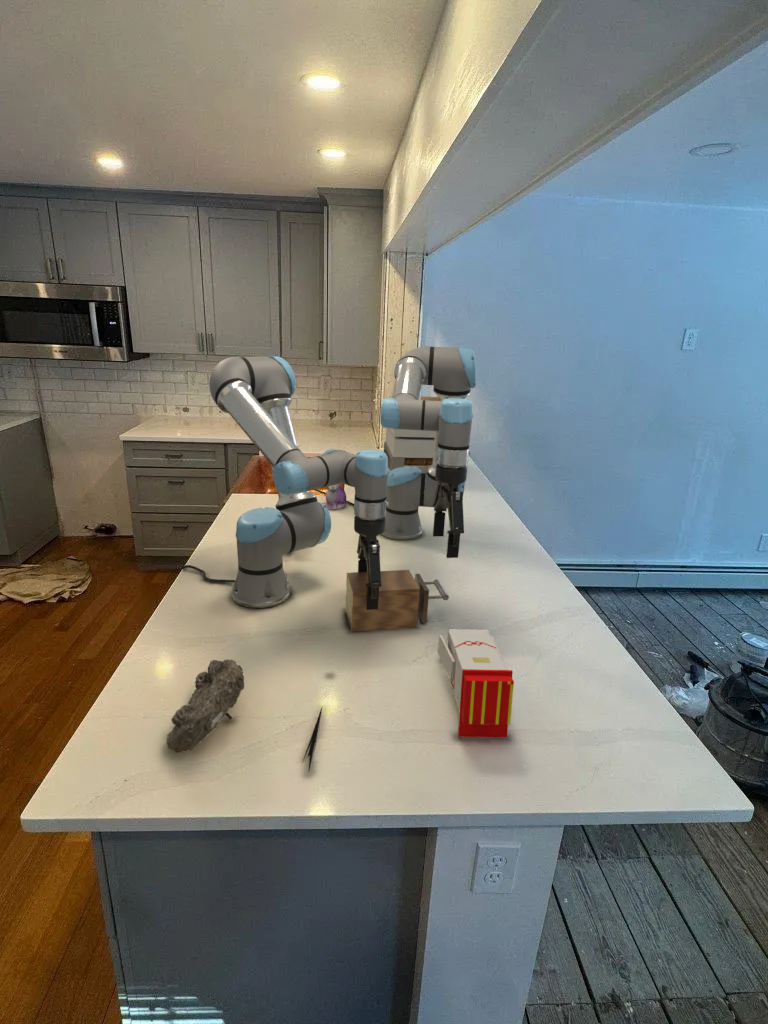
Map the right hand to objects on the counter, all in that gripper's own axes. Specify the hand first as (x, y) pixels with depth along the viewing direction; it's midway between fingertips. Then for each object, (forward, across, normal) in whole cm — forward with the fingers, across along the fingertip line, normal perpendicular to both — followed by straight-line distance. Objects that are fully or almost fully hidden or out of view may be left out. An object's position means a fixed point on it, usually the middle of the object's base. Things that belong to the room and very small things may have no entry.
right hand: (444, 546), depth 143 cm
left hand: (+12, -2, +20) cm, 23 cm away
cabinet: (+19, -2, +16) cm, 25 cm away
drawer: (+18, -1, +10) cm, 21 cm away
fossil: (+19, -35, +54) cm, 67 cm away
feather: (+19, -38, +34) cm, 54 cm away
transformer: (+18, +132, -24) cm, 135 cm away
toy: (+19, -33, +2) cm, 38 cm away
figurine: (+18, +85, +20) cm, 89 cm away
